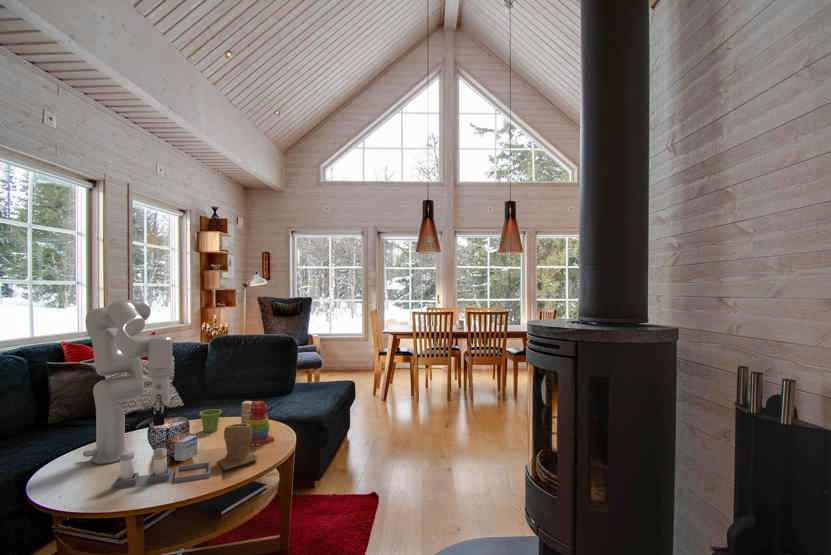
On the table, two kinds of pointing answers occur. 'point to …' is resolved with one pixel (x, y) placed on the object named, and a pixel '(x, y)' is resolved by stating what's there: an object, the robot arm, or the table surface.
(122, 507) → the table surface
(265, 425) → the stacking bear
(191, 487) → the table surface
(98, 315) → the robot arm
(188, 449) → the medicine box
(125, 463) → the plain fuse
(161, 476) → the fuse block
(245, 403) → the supplement box
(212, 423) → the plant pot
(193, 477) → the tray
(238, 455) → the brown piece
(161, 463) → the marked fuse
